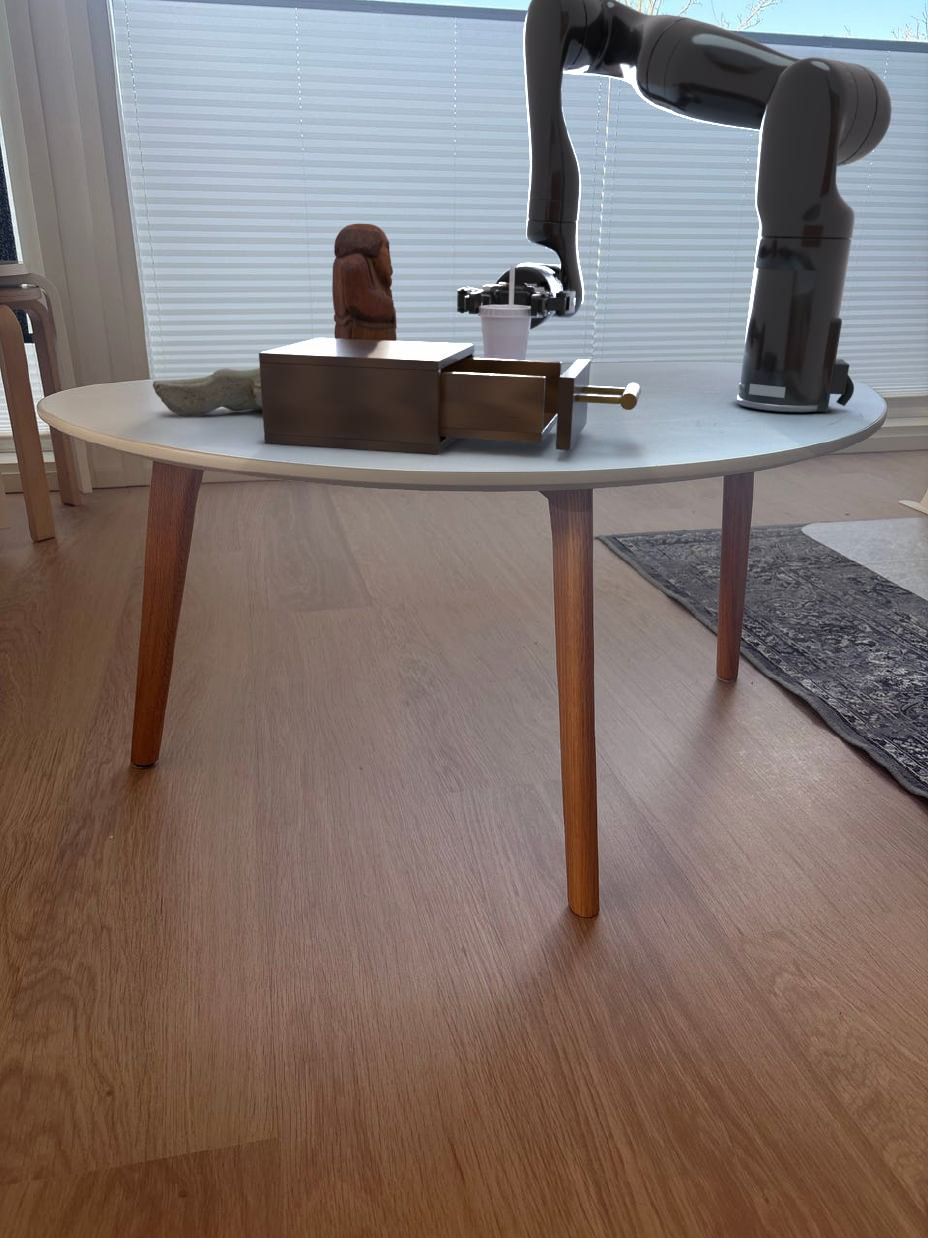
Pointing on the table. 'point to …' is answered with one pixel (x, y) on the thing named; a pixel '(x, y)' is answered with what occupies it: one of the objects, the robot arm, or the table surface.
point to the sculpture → (212, 392)
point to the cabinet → (357, 393)
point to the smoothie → (505, 327)
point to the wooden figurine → (363, 285)
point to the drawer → (521, 400)
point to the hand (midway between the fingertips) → (502, 304)
